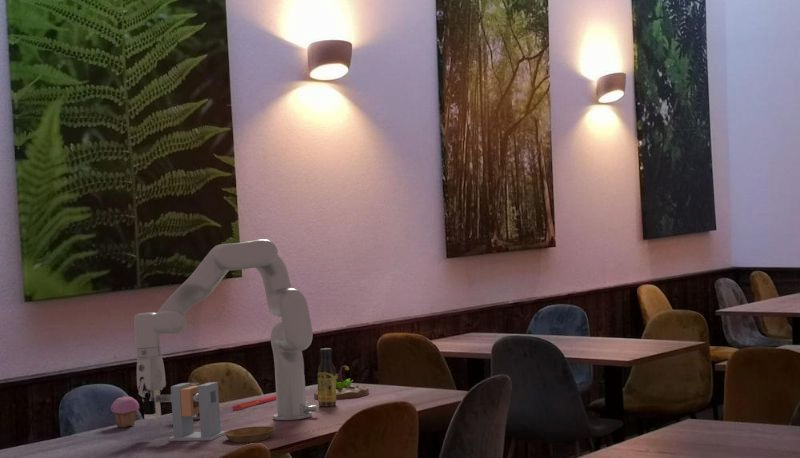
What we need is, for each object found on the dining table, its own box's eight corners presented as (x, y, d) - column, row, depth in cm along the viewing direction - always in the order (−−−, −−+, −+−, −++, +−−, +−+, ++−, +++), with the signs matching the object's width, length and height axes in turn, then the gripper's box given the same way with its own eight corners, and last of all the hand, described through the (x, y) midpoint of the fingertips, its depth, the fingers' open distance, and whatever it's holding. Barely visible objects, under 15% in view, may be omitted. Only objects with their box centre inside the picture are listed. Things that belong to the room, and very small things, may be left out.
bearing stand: (225, 434, 330) (222, 381, 330) (211, 440, 320) (208, 386, 320) (184, 434, 334) (181, 382, 334) (168, 440, 324) (165, 387, 324)
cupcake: (131, 423, 363) (129, 393, 364) (145, 425, 357) (143, 395, 357) (107, 427, 357) (105, 397, 357) (121, 429, 351) (119, 399, 351)
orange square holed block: (203, 411, 331) (201, 385, 331) (191, 416, 323) (189, 389, 323) (194, 411, 332) (192, 385, 332) (181, 416, 324) (180, 389, 324)
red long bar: (229, 413, 380) (239, 409, 378) (228, 407, 380) (237, 403, 378) (270, 402, 401) (280, 398, 399) (268, 397, 401) (278, 393, 399)
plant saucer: (231, 446, 309) (231, 437, 309) (219, 439, 323) (218, 430, 323) (281, 439, 315) (281, 430, 315) (267, 433, 329) (266, 424, 329)
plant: (366, 398, 388) (364, 367, 389) (312, 402, 389) (310, 370, 390) (370, 391, 408) (368, 361, 409) (319, 394, 409) (317, 364, 410)
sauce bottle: (315, 407, 373) (311, 349, 373) (323, 404, 379) (319, 347, 379) (332, 407, 371) (329, 349, 371) (340, 404, 376) (336, 347, 377)
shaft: (211, 416, 327) (209, 386, 327) (207, 418, 324) (205, 388, 324) (149, 417, 333) (147, 388, 333) (144, 419, 330) (142, 389, 330)
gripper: (146, 355, 322) (150, 417, 322) (172, 349, 338) (176, 408, 338) (123, 356, 324) (127, 418, 324) (151, 350, 340) (154, 409, 340)
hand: (152, 412), depth 331 cm, fingers closed on shaft, 3 cm apart
